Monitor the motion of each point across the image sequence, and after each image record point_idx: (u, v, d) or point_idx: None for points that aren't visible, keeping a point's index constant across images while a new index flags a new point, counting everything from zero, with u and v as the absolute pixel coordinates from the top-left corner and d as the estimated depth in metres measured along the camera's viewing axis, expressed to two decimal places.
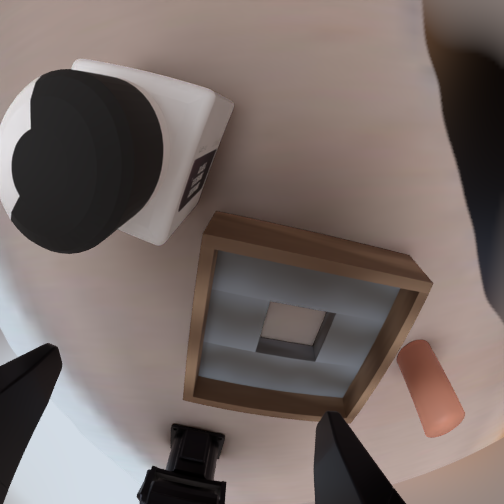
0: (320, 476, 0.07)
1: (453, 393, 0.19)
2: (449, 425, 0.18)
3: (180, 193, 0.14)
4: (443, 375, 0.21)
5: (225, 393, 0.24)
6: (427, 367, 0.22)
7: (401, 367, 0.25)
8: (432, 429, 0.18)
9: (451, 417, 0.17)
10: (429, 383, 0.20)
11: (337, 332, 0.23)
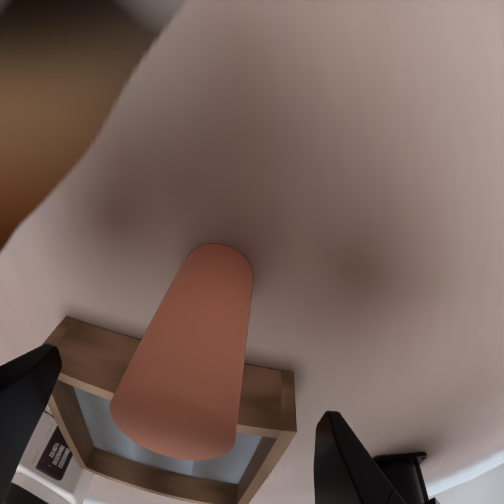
0: (320, 476, 0.07)
1: (131, 359, 0.09)
2: (177, 421, 0.07)
3: (46, 480, 0.17)
4: None
5: (242, 487, 0.20)
6: None
7: None
8: (187, 451, 0.08)
9: (138, 422, 0.07)
10: None
11: None
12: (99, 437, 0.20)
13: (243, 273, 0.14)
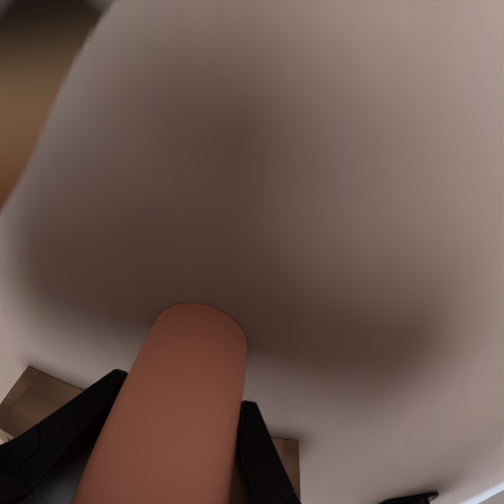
0: None
1: None
2: None
3: None
4: None
5: None
6: None
7: None
8: None
9: None
10: None
11: None
12: None
13: (232, 353, 0.09)
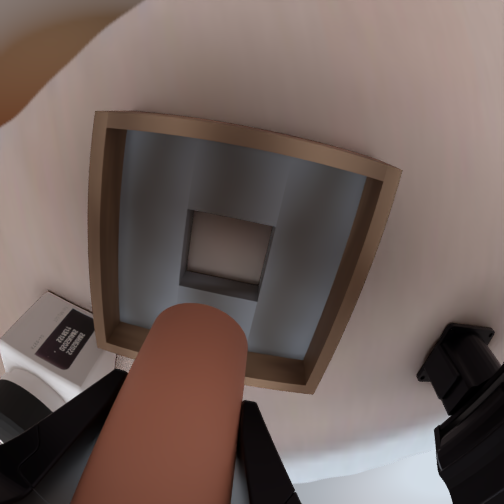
0: None
1: (73, 496, 0.04)
2: None
3: (47, 369, 0.16)
4: (100, 433, 0.06)
5: (316, 345, 0.19)
6: None
7: None
8: None
9: None
10: None
11: (219, 202, 0.17)
12: (130, 294, 0.20)
13: (233, 353, 0.09)
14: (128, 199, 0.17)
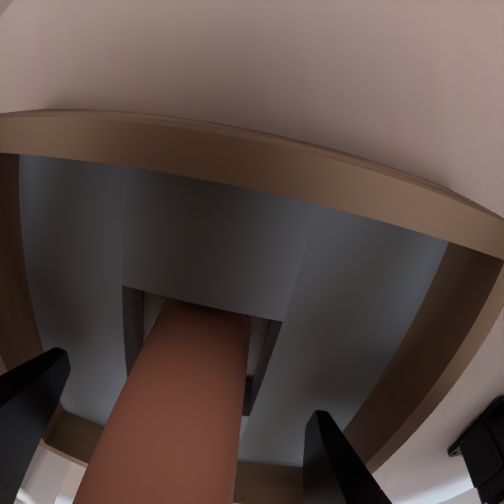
0: (308, 476, 0.07)
1: (87, 466, 0.05)
2: None
3: None
4: (114, 406, 0.07)
5: None
6: None
7: None
8: None
9: None
10: None
11: (175, 278, 0.09)
12: (68, 386, 0.12)
13: (237, 333, 0.10)
14: (34, 261, 0.09)
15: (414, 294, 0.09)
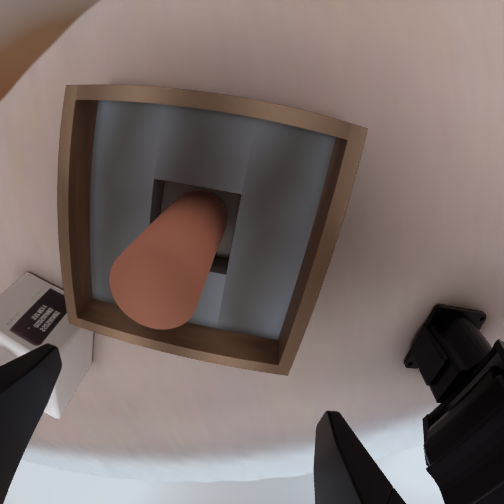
0: (320, 476, 0.07)
1: None
2: (157, 278, 0.11)
3: (20, 345, 0.16)
4: None
5: (289, 321, 0.18)
6: None
7: None
8: (163, 317, 0.12)
9: (129, 287, 0.11)
10: None
11: (184, 171, 0.16)
12: (102, 269, 0.19)
13: (217, 207, 0.18)
14: (98, 171, 0.16)
15: (317, 178, 0.16)
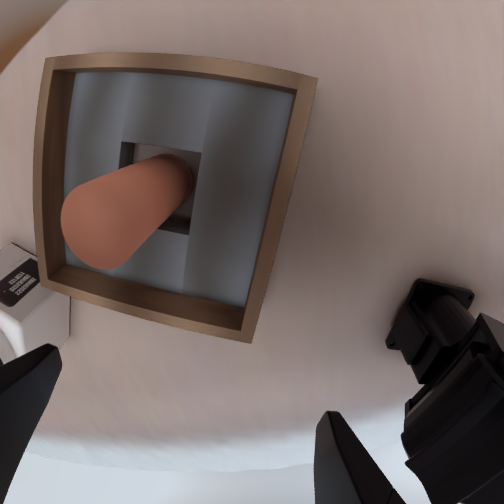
0: (320, 476, 0.07)
1: None
2: (100, 213, 0.11)
3: None
4: None
5: (250, 284, 0.18)
6: None
7: None
8: (106, 255, 0.11)
9: (77, 225, 0.11)
10: None
11: (148, 132, 0.16)
12: None
13: (180, 168, 0.17)
14: (73, 138, 0.16)
15: (275, 135, 0.16)
